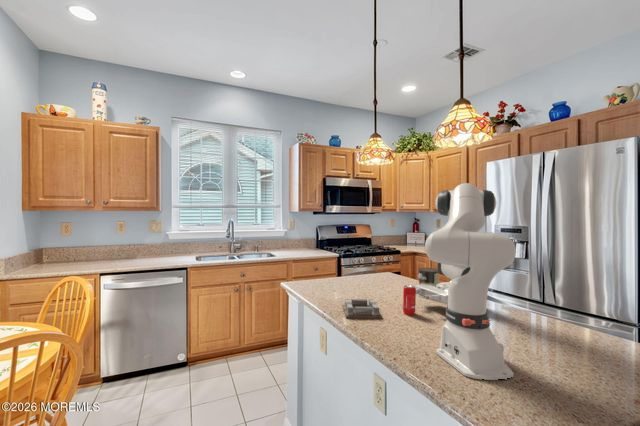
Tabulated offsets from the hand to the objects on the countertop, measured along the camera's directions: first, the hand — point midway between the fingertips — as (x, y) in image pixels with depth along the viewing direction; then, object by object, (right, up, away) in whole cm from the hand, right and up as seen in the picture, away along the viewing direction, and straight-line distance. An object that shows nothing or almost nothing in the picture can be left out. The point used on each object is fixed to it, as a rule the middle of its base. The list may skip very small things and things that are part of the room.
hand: (421, 294), depth 139 cm
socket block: (-27, -7, -2) cm, 28 cm away
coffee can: (+12, -8, +26) cm, 30 cm away
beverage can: (-6, -8, -2) cm, 10 cm away
